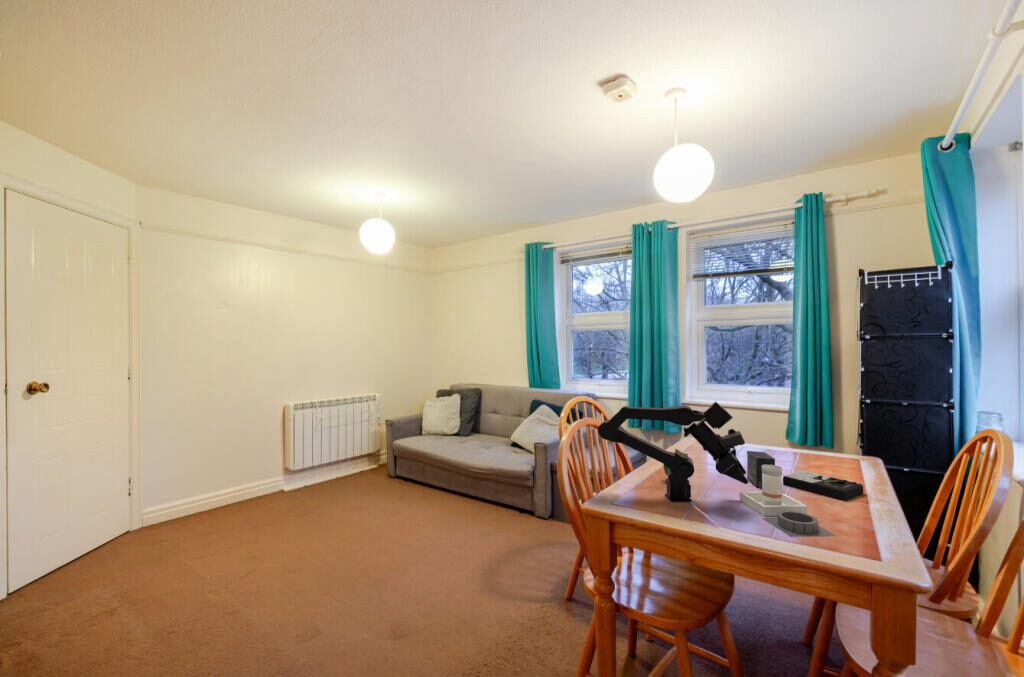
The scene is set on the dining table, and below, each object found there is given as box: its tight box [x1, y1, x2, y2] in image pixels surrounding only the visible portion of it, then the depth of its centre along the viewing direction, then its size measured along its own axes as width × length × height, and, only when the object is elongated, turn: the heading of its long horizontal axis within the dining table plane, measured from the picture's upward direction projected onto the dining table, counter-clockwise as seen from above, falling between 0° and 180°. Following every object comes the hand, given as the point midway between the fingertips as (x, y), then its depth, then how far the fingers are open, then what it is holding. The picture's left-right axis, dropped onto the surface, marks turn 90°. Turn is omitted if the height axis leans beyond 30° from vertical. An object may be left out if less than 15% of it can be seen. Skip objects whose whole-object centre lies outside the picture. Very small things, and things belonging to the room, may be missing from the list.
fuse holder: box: [761, 511, 837, 538], centre depth 118 cm, size 12×12×4 cm
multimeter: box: [782, 470, 864, 502], centre depth 151 cm, size 13×19×5 cm
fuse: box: [761, 464, 783, 506], centre depth 132 cm, size 5×5×12 cm
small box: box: [746, 450, 776, 488], centre depth 158 cm, size 11×6×10 cm, turn 168°
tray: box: [739, 491, 808, 517], centre depth 132 cm, size 13×13×4 cm
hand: (746, 478), depth 135 cm, fingers open, 9 cm apart
